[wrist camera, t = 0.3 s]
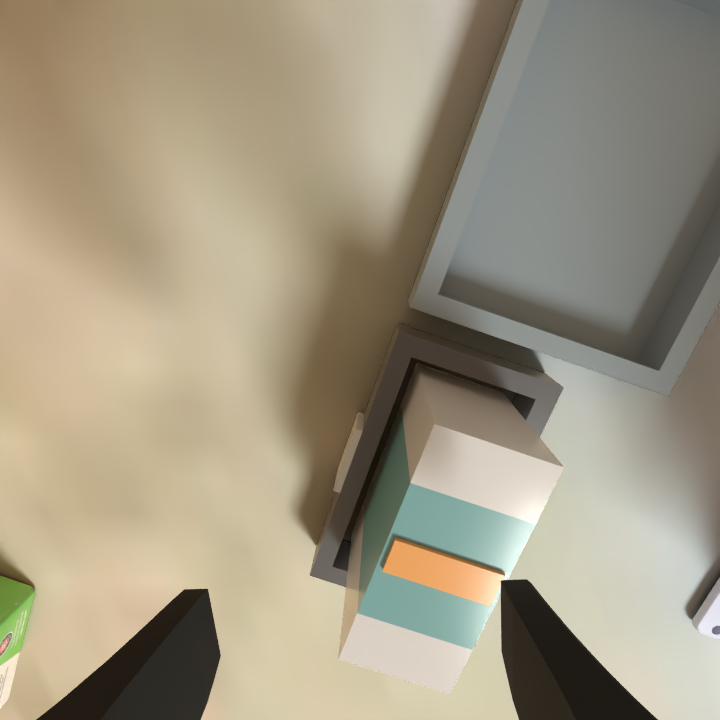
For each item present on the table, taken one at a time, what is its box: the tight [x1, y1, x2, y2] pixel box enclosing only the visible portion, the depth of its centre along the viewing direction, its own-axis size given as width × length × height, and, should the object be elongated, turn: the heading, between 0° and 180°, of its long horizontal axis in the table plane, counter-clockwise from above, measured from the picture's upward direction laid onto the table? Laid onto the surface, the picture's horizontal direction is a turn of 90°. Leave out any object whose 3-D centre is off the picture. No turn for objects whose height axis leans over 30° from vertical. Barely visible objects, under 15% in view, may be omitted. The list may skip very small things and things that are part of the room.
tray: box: [408, 0, 720, 396], centre depth 17 cm, size 11×14×2 cm
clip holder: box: [310, 323, 563, 587], centre depth 20 cm, size 7×12×2 cm, turn 162°
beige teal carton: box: [338, 363, 564, 695], centre depth 17 cm, size 4×9×7 cm, turn 162°
